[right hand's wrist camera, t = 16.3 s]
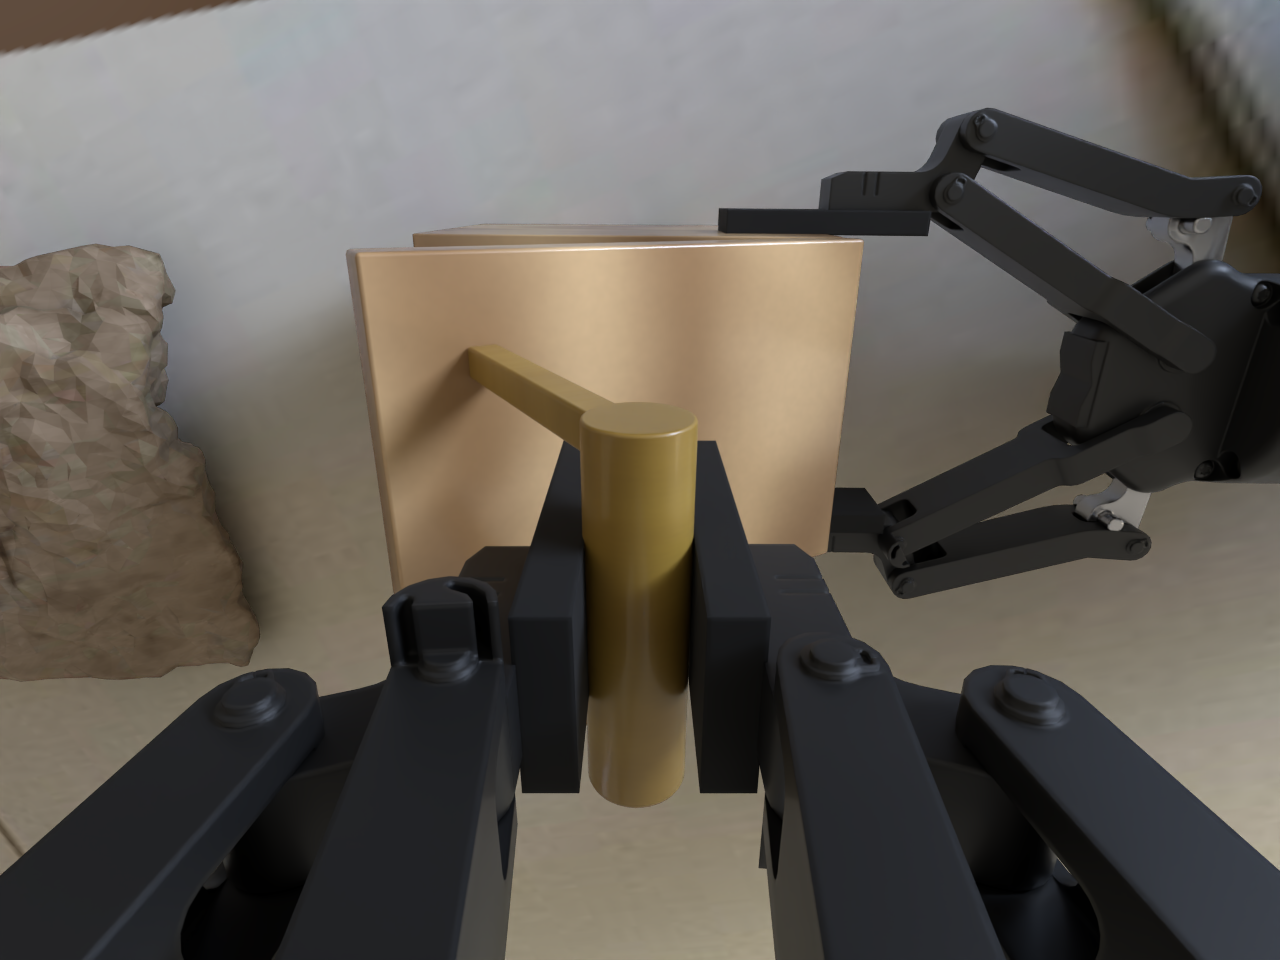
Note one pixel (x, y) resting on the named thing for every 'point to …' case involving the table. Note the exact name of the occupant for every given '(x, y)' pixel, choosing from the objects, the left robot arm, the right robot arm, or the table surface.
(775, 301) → the lid
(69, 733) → the table surface
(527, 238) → the chest
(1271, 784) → the table surface
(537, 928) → the table surface
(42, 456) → the stone
